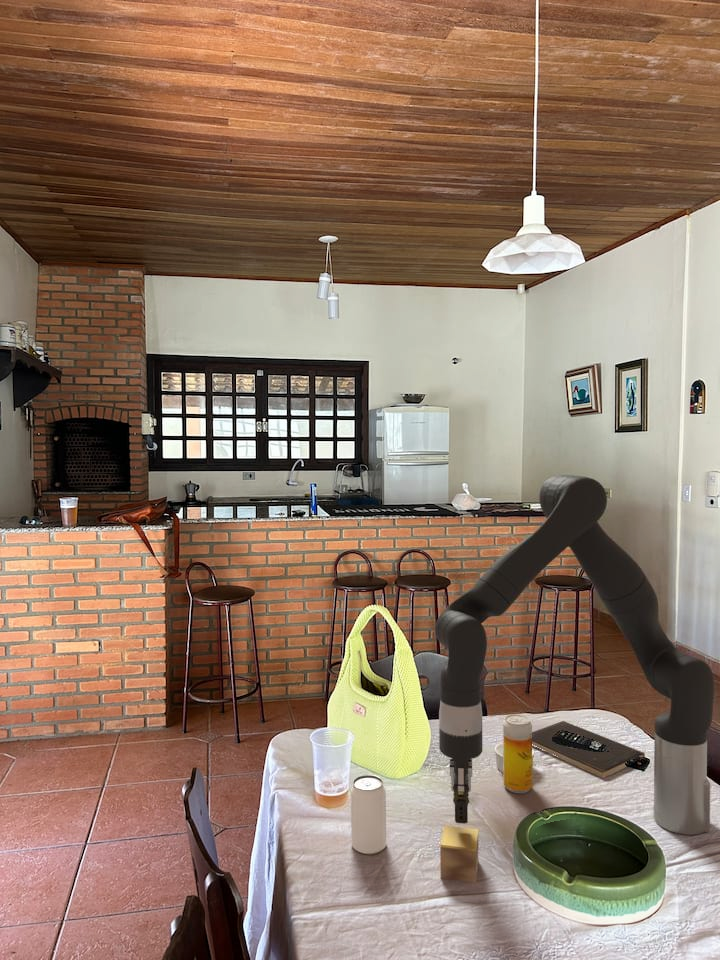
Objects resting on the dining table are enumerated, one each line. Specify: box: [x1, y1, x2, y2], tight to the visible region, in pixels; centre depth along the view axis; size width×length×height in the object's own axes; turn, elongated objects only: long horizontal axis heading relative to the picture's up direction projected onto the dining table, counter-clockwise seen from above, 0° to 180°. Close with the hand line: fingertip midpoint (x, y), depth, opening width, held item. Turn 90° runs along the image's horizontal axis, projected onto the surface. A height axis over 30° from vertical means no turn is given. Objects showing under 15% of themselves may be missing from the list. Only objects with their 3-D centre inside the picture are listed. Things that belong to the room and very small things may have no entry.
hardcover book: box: [532, 720, 646, 779], centre depth 164 cm, size 16×23×2 cm
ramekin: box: [494, 742, 535, 773], centre depth 156 cm, size 9×9×4 cm
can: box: [350, 774, 387, 856], centre depth 126 cm, size 6×6×12 cm
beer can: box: [502, 714, 533, 794], centre depth 147 cm, size 6×6×15 cm
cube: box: [439, 824, 479, 884], centre depth 119 cm, size 6×6×6 cm
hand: (461, 820), depth 121 cm, fingers closed
